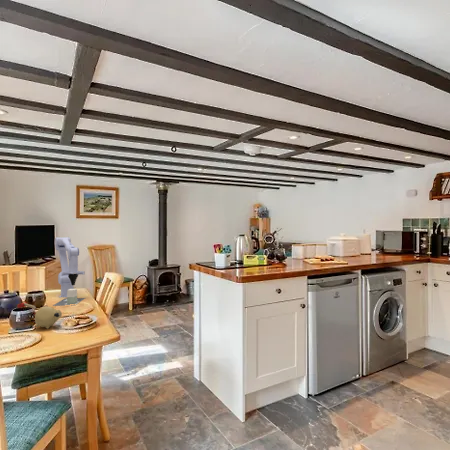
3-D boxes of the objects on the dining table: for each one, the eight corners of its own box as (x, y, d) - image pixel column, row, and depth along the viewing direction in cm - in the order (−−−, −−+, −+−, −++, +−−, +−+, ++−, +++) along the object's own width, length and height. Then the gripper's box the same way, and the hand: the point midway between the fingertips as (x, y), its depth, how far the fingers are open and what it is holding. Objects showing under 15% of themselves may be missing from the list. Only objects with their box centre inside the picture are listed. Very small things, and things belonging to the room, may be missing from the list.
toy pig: (58, 329, 156) (58, 308, 156) (31, 331, 153) (31, 309, 153) (63, 323, 165) (63, 303, 165) (38, 325, 162) (38, 304, 162)
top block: (69, 295, 208) (69, 288, 208) (76, 295, 208) (76, 288, 208) (67, 297, 204) (67, 290, 203) (74, 297, 204) (74, 290, 204)
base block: (69, 302, 208) (69, 295, 208) (76, 302, 209) (76, 295, 209) (67, 304, 204) (67, 297, 204) (74, 303, 204) (74, 297, 204)
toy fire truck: (40, 322, 167) (40, 304, 167) (17, 321, 168) (17, 303, 168) (45, 320, 170) (45, 302, 170) (21, 319, 172) (21, 302, 172)
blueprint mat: (64, 298, 219) (64, 298, 219) (85, 298, 220) (85, 297, 220) (52, 306, 199) (52, 305, 199) (75, 305, 201) (75, 305, 201)
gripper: (59, 266, 211) (59, 286, 211) (82, 265, 212) (82, 285, 212) (64, 264, 218) (64, 284, 218) (85, 264, 219) (85, 284, 219)
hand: (73, 285), depth 216 cm, fingers closed
